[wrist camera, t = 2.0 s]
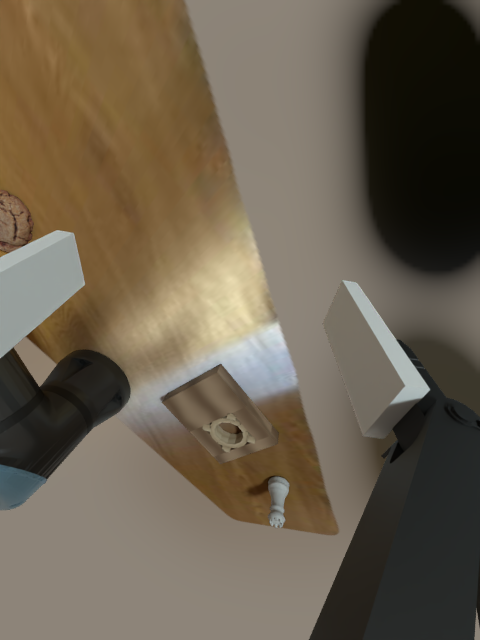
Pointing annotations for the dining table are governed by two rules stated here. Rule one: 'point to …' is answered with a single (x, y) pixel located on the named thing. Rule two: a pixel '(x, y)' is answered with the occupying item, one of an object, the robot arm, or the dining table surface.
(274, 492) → the rook chess piece
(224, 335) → the dining table surface
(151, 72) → the dining table surface
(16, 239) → the cookie
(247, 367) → the dining table surface
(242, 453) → the socket board
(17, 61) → the dining table surface
